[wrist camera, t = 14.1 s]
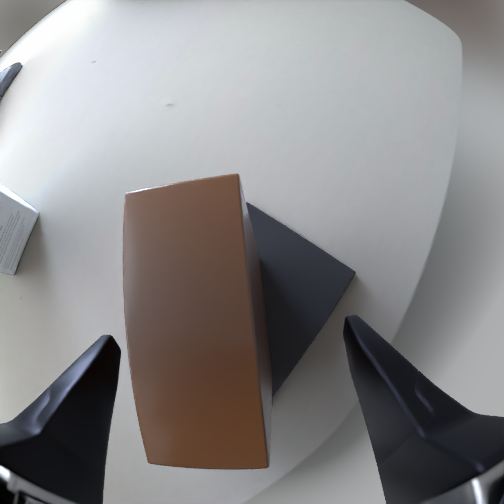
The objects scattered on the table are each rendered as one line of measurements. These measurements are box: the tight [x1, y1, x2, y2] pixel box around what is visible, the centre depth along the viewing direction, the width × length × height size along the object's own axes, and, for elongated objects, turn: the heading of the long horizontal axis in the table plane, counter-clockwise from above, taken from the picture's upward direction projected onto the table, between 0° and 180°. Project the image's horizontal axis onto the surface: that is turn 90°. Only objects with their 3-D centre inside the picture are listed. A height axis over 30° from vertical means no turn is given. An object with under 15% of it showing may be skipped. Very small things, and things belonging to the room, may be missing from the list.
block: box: [123, 174, 272, 469], centre depth 11 cm, size 7×3×10 cm, turn 6°
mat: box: [246, 202, 356, 396], centre depth 16 cm, size 8×12×1 cm, turn 145°
